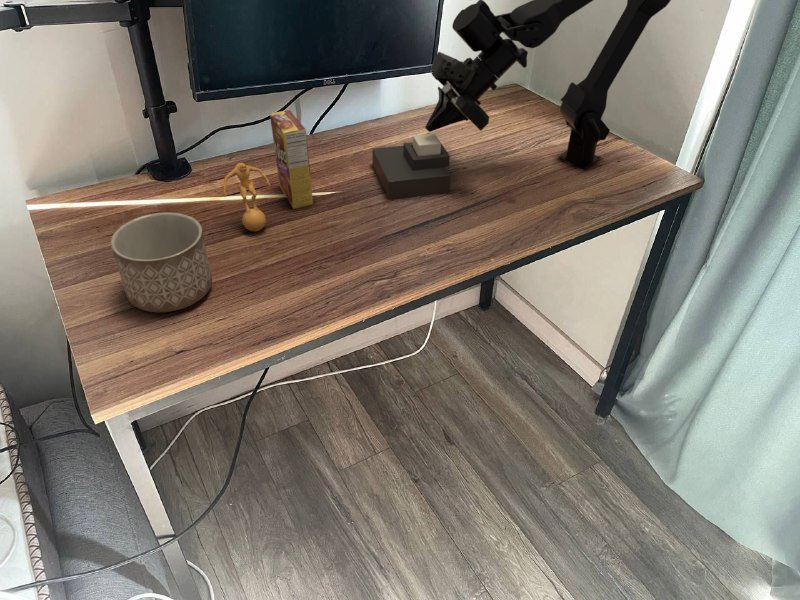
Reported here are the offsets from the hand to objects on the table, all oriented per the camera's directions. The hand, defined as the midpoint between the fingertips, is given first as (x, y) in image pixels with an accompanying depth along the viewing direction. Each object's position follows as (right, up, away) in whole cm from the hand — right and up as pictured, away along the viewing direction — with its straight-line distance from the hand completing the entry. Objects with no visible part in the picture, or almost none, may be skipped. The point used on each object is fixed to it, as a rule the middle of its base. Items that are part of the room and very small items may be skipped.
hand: (427, 129), depth 125 cm
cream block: (0, -3, +3) cm, 4 cm away
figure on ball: (-31, -20, -9) cm, 38 cm away
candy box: (-25, -13, 0) cm, 28 cm away
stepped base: (-3, -8, +6) cm, 11 cm away
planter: (-41, -31, -23) cm, 56 cm away
